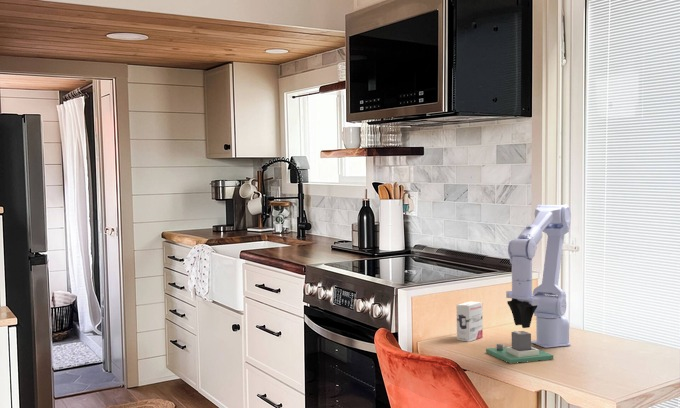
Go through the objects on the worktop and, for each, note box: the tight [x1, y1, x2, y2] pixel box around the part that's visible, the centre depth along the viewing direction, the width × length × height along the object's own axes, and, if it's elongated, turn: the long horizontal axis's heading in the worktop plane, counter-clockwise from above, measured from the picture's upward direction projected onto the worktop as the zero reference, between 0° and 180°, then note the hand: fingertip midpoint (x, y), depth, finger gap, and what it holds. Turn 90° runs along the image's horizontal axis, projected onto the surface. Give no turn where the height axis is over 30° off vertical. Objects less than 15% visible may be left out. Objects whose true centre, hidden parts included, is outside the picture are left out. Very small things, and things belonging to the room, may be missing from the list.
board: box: [485, 343, 554, 364], centre depth 203 cm, size 14×14×3 cm
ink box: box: [456, 300, 484, 343], centre depth 225 cm, size 8×5×12 cm, turn 137°
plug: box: [511, 330, 532, 351], centre depth 200 cm, size 4×4×6 cm
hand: (522, 326), depth 200 cm, fingers open, 3 cm apart
